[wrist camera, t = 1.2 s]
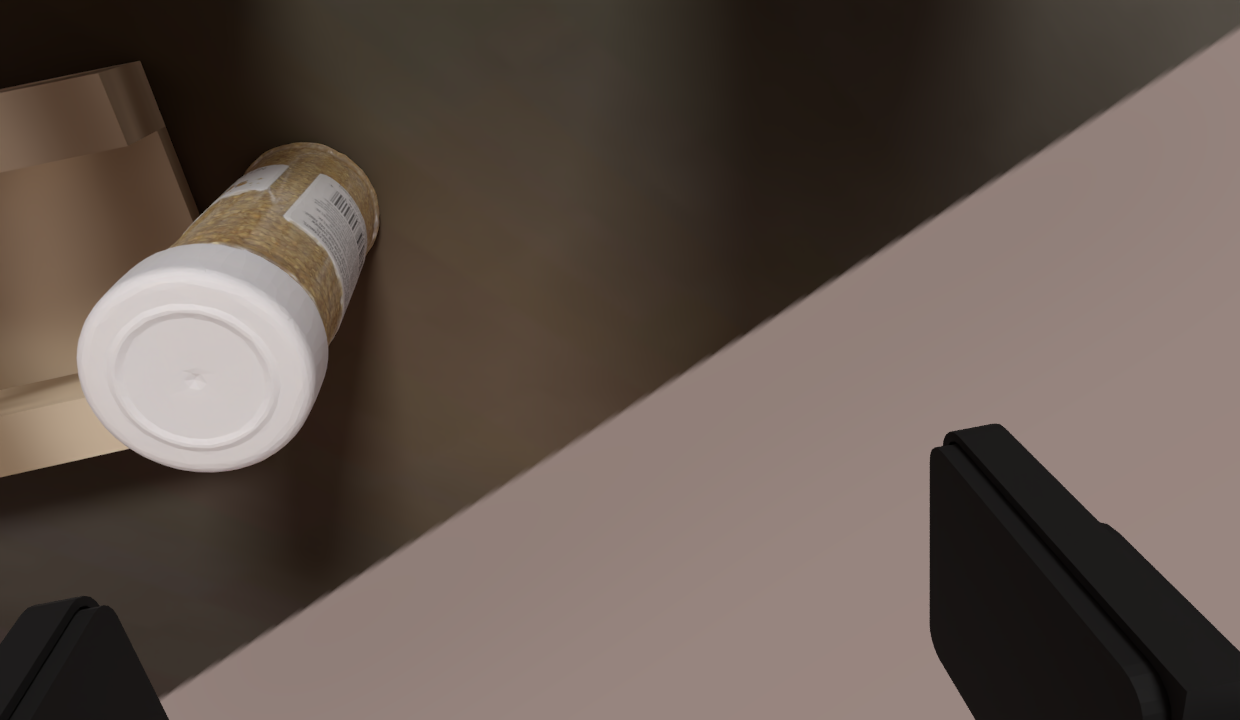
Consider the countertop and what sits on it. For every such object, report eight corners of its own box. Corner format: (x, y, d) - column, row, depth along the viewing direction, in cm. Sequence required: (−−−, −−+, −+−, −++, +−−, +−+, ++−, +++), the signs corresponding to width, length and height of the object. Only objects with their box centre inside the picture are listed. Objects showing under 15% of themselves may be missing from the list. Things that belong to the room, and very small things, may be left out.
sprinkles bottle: (236, 133, 29) (54, 261, 17) (384, 146, 30) (313, 278, 18) (242, 271, 31) (81, 477, 19) (382, 281, 32) (315, 484, 19)
